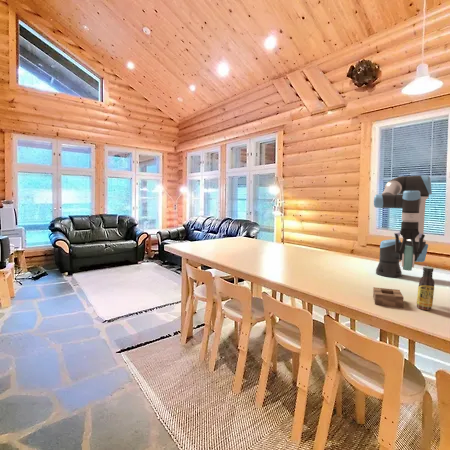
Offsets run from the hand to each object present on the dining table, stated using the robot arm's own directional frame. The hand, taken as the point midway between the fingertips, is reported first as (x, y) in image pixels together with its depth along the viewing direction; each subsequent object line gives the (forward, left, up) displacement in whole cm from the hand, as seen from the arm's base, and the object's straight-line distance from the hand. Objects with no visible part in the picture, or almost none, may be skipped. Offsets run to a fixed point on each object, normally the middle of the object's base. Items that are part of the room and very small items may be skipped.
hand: (407, 266), depth 157 cm
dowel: (0, 0, -2) cm, 2 cm away
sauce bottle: (+13, +6, -17) cm, 22 cm away
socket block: (+9, -9, -17) cm, 21 cm away
